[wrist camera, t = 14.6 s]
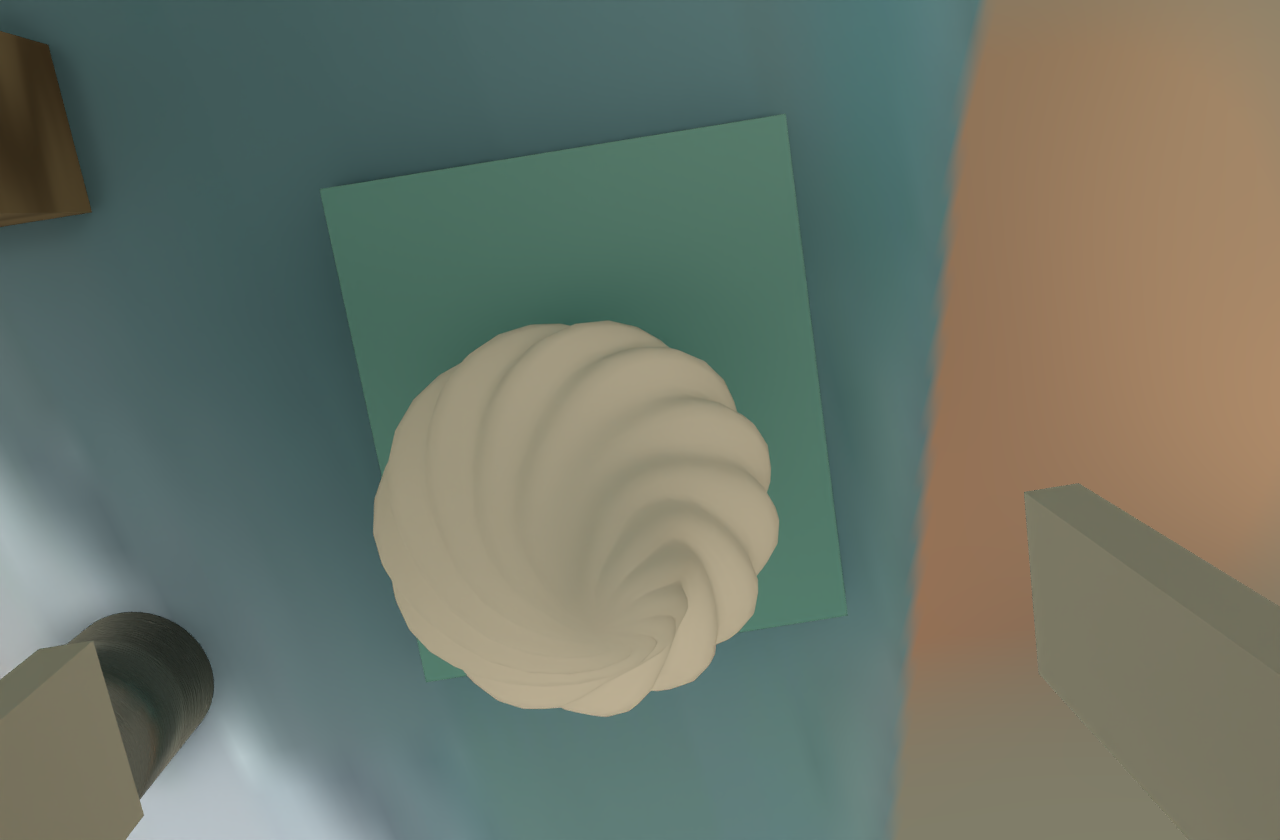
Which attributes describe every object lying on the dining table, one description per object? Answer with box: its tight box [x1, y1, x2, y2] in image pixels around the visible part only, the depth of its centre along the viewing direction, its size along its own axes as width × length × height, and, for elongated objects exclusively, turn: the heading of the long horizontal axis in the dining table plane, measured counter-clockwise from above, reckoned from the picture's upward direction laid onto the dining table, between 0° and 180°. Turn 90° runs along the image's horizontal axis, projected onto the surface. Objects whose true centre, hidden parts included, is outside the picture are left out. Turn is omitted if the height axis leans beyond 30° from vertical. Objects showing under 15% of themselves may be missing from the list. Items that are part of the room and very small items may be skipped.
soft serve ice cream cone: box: [373, 320, 779, 717], centre depth 25 cm, size 8×8×16 cm
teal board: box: [320, 114, 847, 682], centre depth 33 cm, size 16×14×2 cm
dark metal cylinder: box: [66, 612, 214, 800], centre depth 32 cm, size 5×5×6 cm
